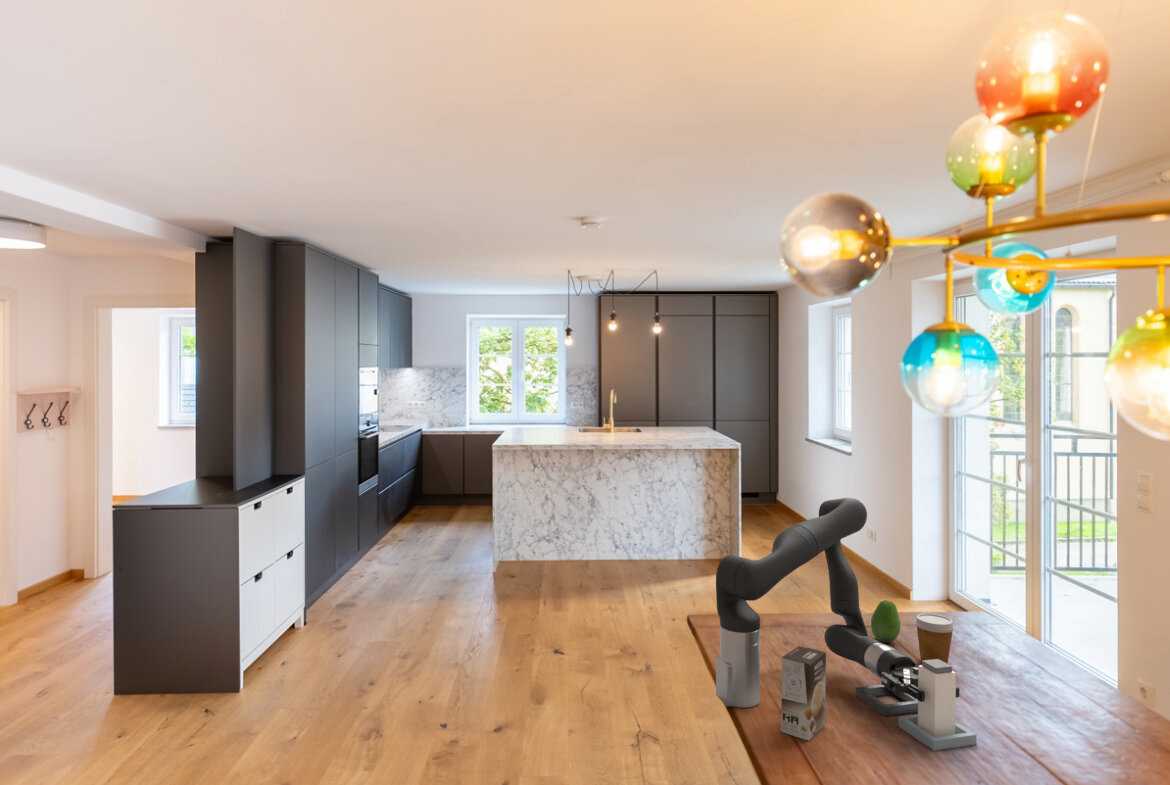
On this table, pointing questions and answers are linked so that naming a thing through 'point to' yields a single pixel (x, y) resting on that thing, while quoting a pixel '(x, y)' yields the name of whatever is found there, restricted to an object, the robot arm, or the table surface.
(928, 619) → the disposable coffee cup
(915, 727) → the front socket
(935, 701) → the plug
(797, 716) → the coffee box
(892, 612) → the avocado
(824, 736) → the table surface
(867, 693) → the back socket
